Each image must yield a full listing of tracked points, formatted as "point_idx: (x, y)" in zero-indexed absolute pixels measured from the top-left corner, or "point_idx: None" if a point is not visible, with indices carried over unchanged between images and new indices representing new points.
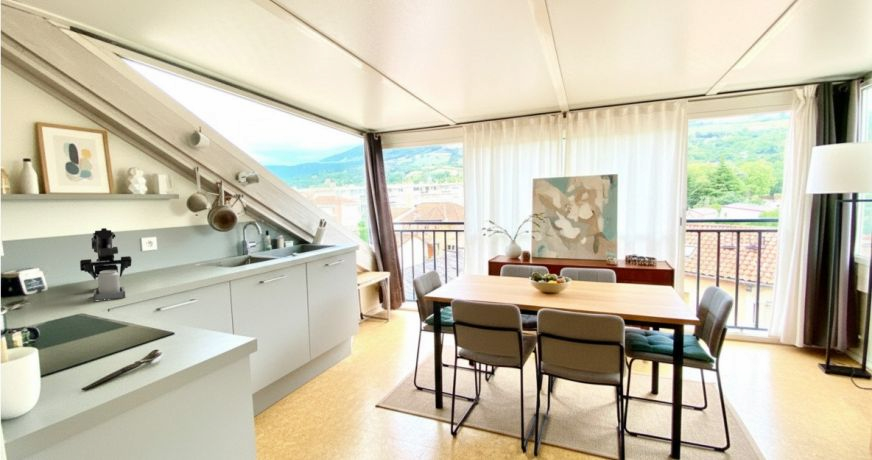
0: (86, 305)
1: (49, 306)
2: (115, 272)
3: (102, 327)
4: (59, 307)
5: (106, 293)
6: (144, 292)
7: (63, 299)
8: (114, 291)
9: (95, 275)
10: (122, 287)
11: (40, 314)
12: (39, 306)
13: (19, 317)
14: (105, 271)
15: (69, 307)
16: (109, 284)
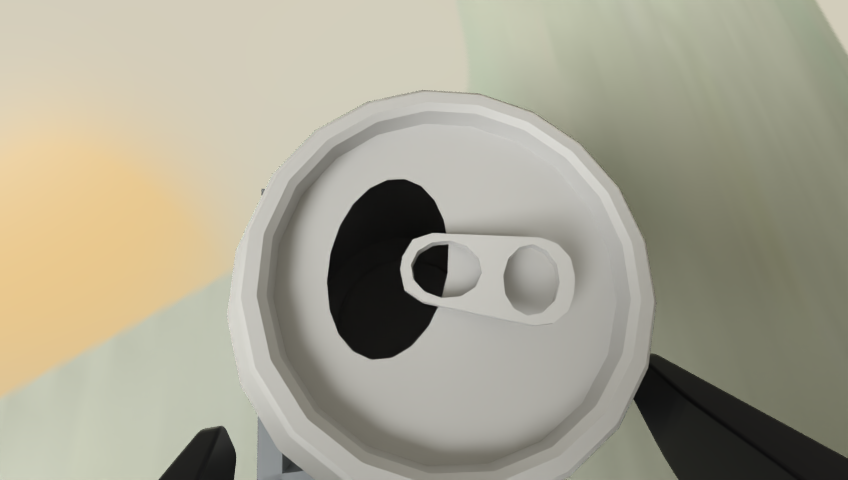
0: None
1: (768, 218)
2: (284, 200)
3: None
4: (691, 151)
5: None
6: (85, 372)
7: None
8: (359, 240)
9: (690, 400)
10: (275, 456)
11: (730, 37)
12: (835, 254)
13: (809, 32)
14: (526, 318)
15: (628, 117)
16: (404, 189)
